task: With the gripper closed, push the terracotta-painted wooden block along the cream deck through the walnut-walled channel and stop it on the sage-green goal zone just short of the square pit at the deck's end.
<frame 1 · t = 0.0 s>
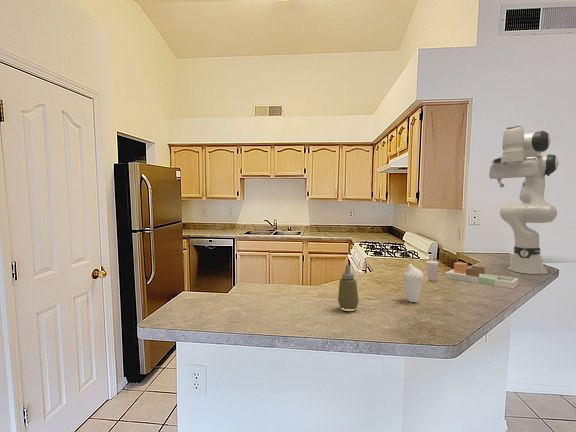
hand: (513, 186, 156), 48 cm above the table, fingers open, 8 cm apart
smoothie: (432, 280, 165), on the table
block: (460, 272, 168), point 3 cm above the table, touching deck
squeeze bottle: (348, 310, 124), on the table
soft serve ice cream cone: (412, 301, 132), on the table
deck: (479, 280, 161), on the table
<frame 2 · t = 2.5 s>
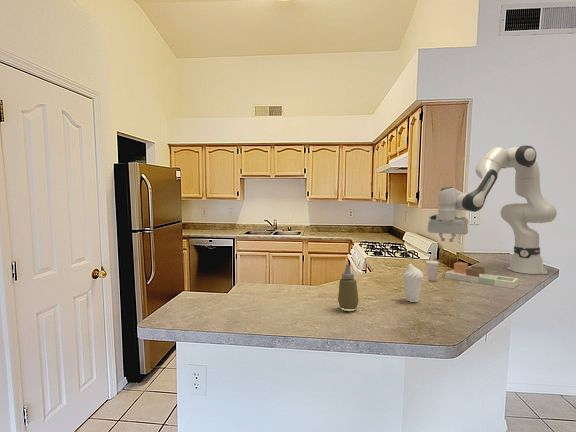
hand: (447, 241, 172), 19 cm above the table, fingers open, 3 cm apart
nothing on the table moved.
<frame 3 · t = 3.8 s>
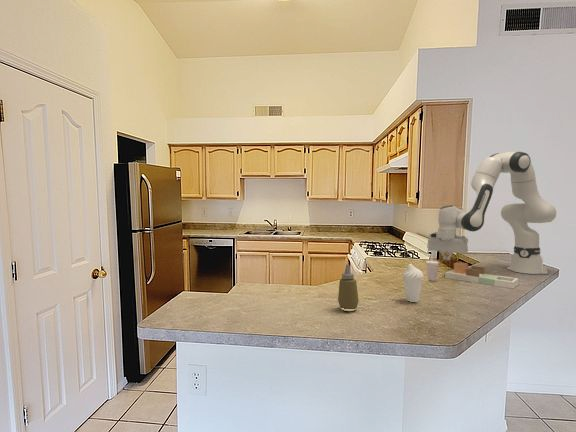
hand: (446, 260, 172), 9 cm above the table, fingers closed
nothing on the table moved.
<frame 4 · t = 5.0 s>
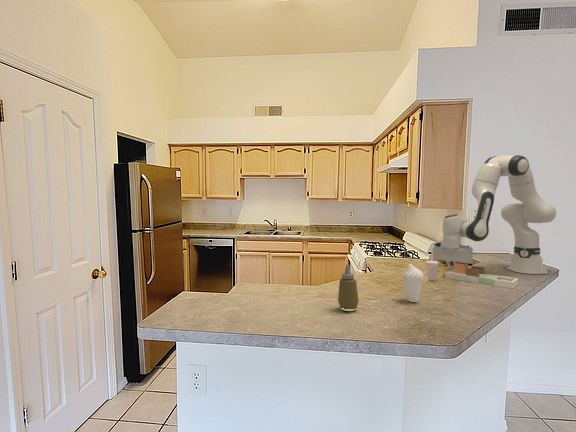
hand: (451, 269, 171), 4 cm above the table, fingers closed
block: (461, 272, 167), point 3 cm above the table, touching gripper
everything else where it was.
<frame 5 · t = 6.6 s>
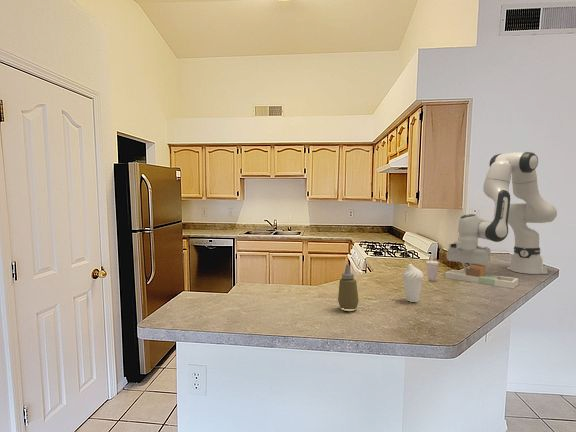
hand: (467, 271, 165), 4 cm above the table, fingers closed
block: (477, 274, 161), point 3 cm above the table, touching deck, gripper
everything else where it was.
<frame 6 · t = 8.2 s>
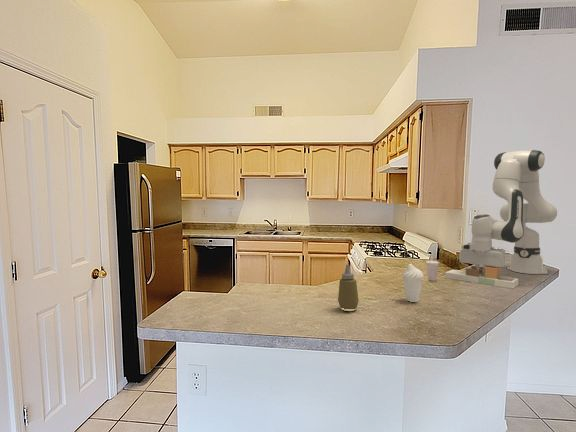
hand: (481, 273, 160), 4 cm above the table, fingers closed
block: (492, 277, 156), point 3 cm above the table, touching deck, gripper
everything else where it was.
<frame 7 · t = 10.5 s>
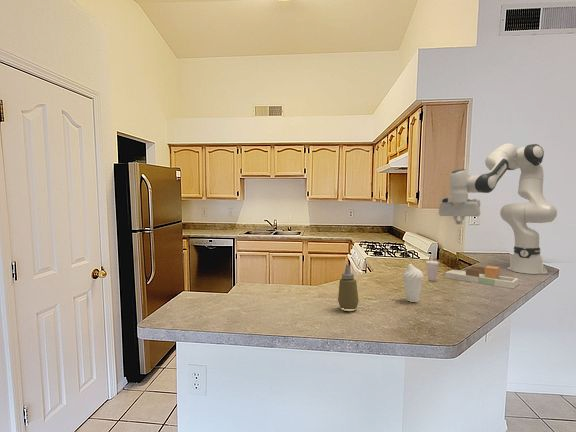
hand: (458, 224, 172), 29 cm above the table, fingers closed
block: (492, 277, 156), point 3 cm above the table, touching deck
everything else where it was.
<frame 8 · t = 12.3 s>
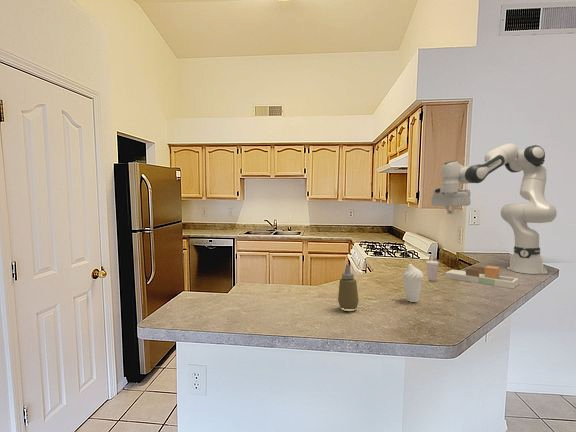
hand: (450, 213, 180), 34 cm above the table, fingers closed
nothing on the table moved.
at the end: block 1.6 cm from the target spot on the deck, point 3.0 cm above the deck's base; block tilted 0° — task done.
